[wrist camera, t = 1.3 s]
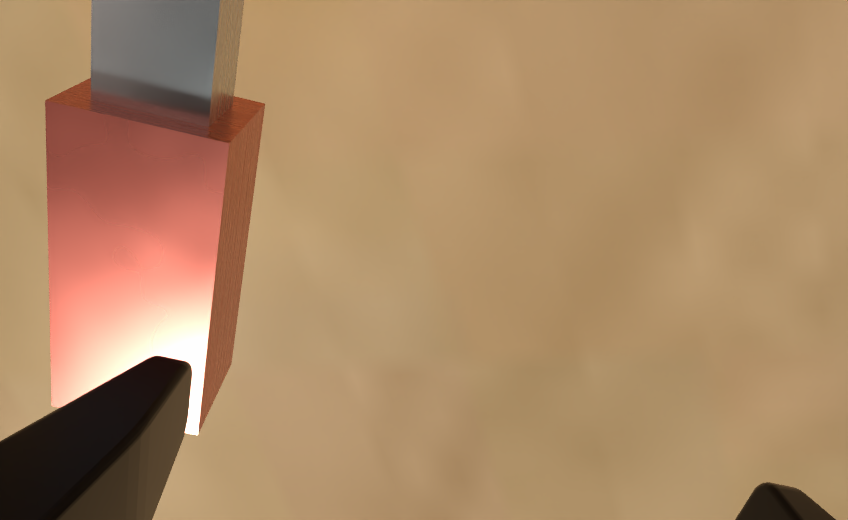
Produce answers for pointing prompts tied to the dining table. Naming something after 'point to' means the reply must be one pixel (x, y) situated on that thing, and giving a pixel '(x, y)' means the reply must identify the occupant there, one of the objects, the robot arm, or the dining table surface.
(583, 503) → the dining table surface
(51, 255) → the valve lever
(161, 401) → the robot arm
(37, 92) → the dining table surface
